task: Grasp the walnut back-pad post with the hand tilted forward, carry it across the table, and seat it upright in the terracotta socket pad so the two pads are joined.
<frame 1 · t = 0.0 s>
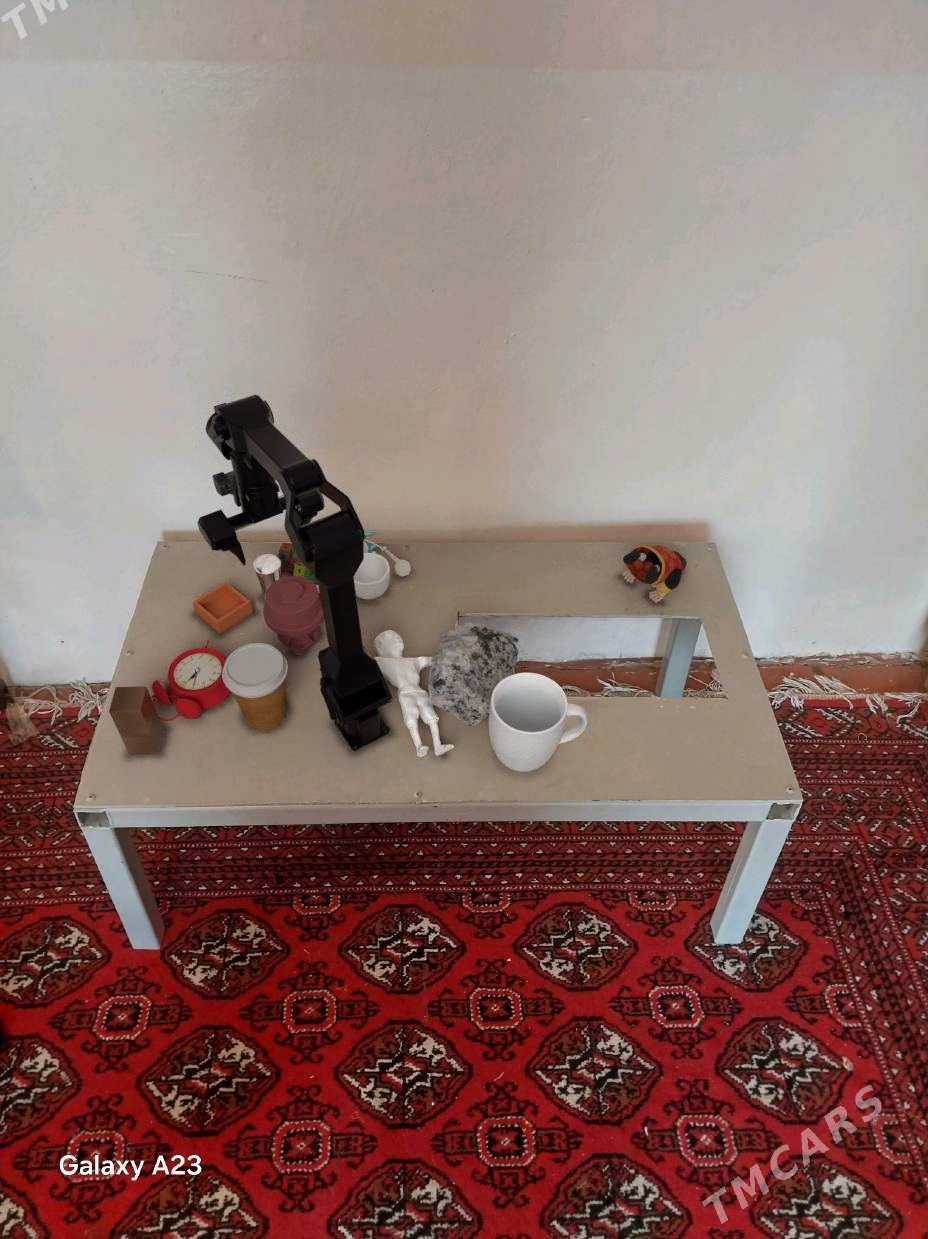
hand: (270, 553, 139), 15 cm above the table, tool pointing down, fingers open, 9 cm apart
mechanical component: (300, 641, 146), on the table
teacup: (370, 586, 155), on the table
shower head: (337, 518, 165), point 1 cm above the table, touching toy
socket pad: (224, 613, 150), on the table
figurine: (636, 571, 148), point 7 cm above the table
figurine 2: (442, 740, 127), point 5 cm above the table, touching rock
rock: (499, 656, 132), point 10 cm above the table, touching figurine 2, mug
rubik's cube: (303, 571, 157), on the table
stove knob: (311, 603, 152), on the table
back pad post: (147, 742, 132), on the table
mug: (528, 753, 132), on the table, touching rock
disposable coffee cup: (266, 714, 136), on the table
alarm clock: (195, 693, 138), on the table
toy: (374, 556, 159), point 1 cm above the table, touching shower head
milkshake: (273, 599, 153), on the table
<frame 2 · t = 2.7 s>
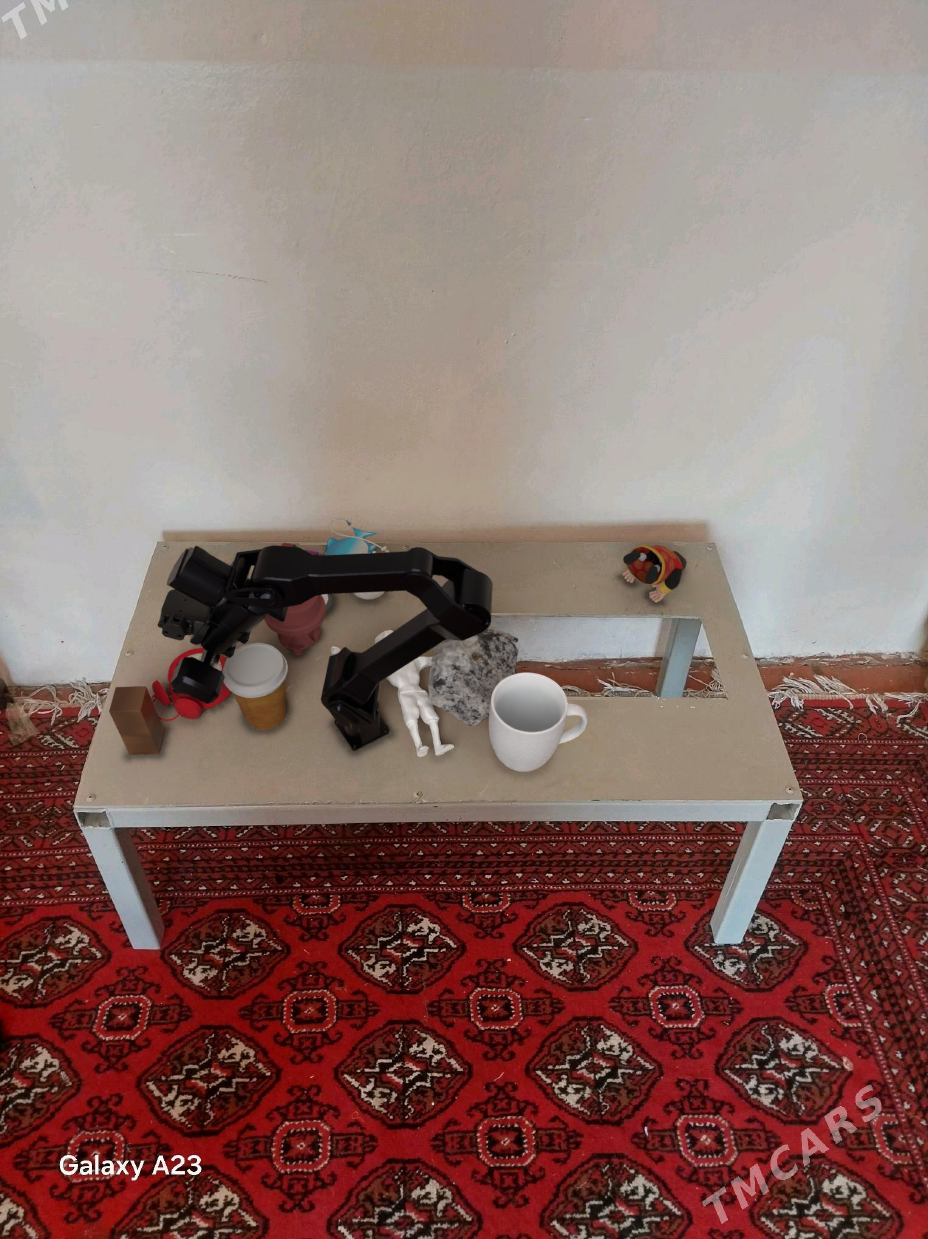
hand: (184, 667, 125), 13 cm above the table, tool tilted 40°, fingers open, 9 cm apart
nothing on the table moved.
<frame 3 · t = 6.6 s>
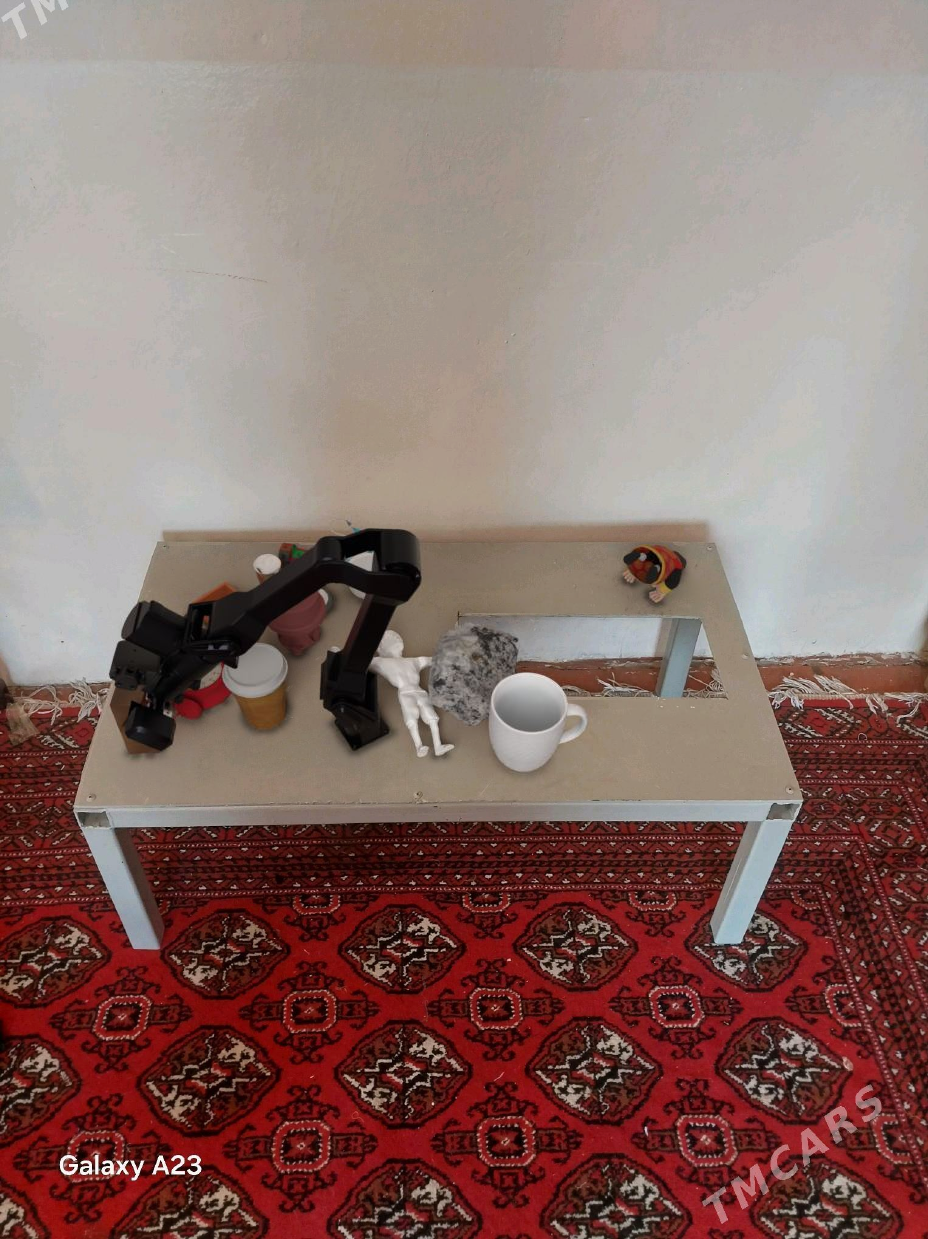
hand: (128, 713, 127), 7 cm above the table, tool tilted 45°, fingers closed on back pad post, 4 cm apart
back pad post: (146, 742, 132), on the table, touching gripper
everything else where it was.
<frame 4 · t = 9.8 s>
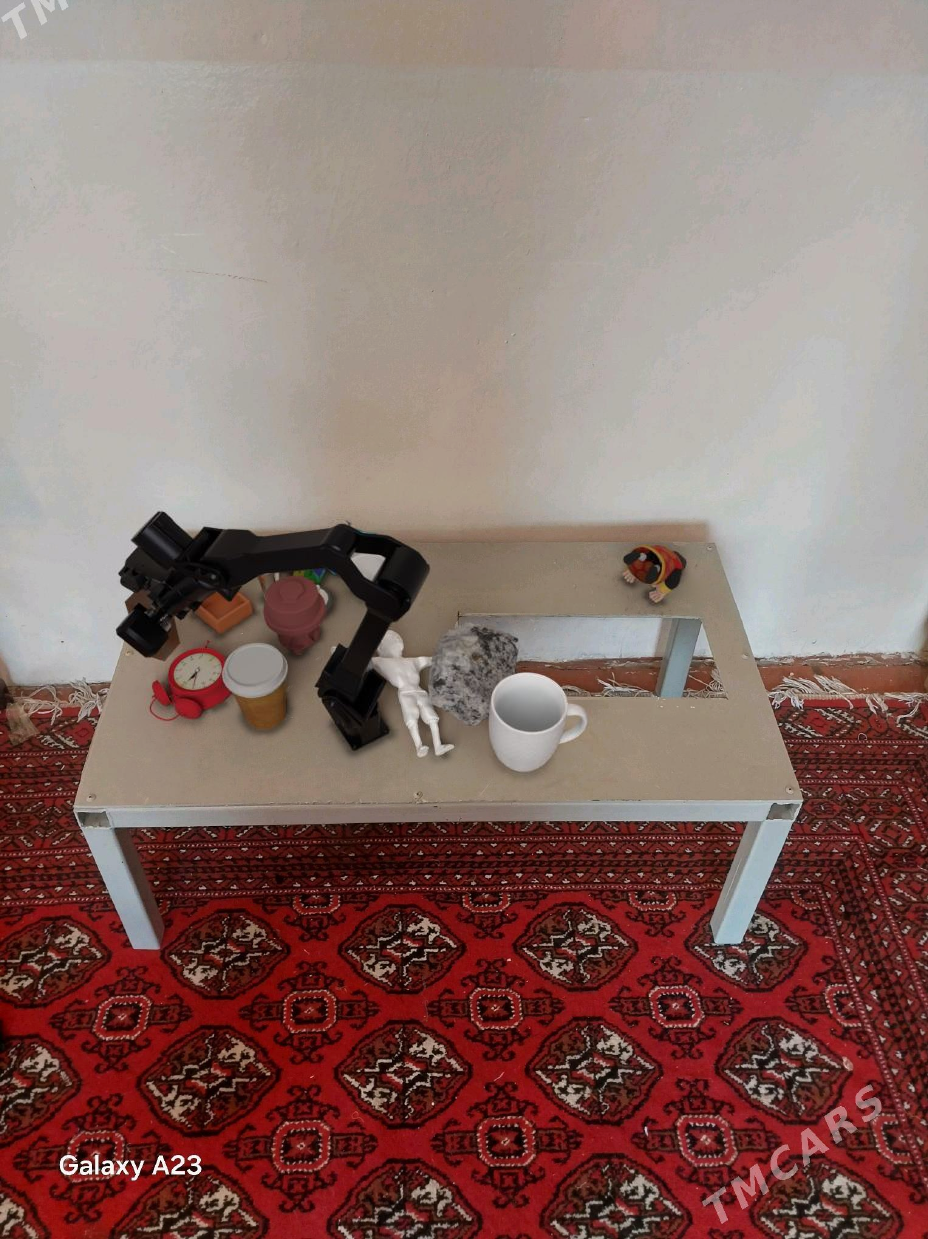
hand: (146, 616, 132), 13 cm above the table, tool tilted 45°, fingers closed on back pad post, 4 cm apart
back pad post: (160, 648, 136), point 6 cm above the table, touching gripper
everything else where it was.
when the fingers open (7 cm above the table, at t = 13.4 s): back pad post stays where it is, resting on socket pad.
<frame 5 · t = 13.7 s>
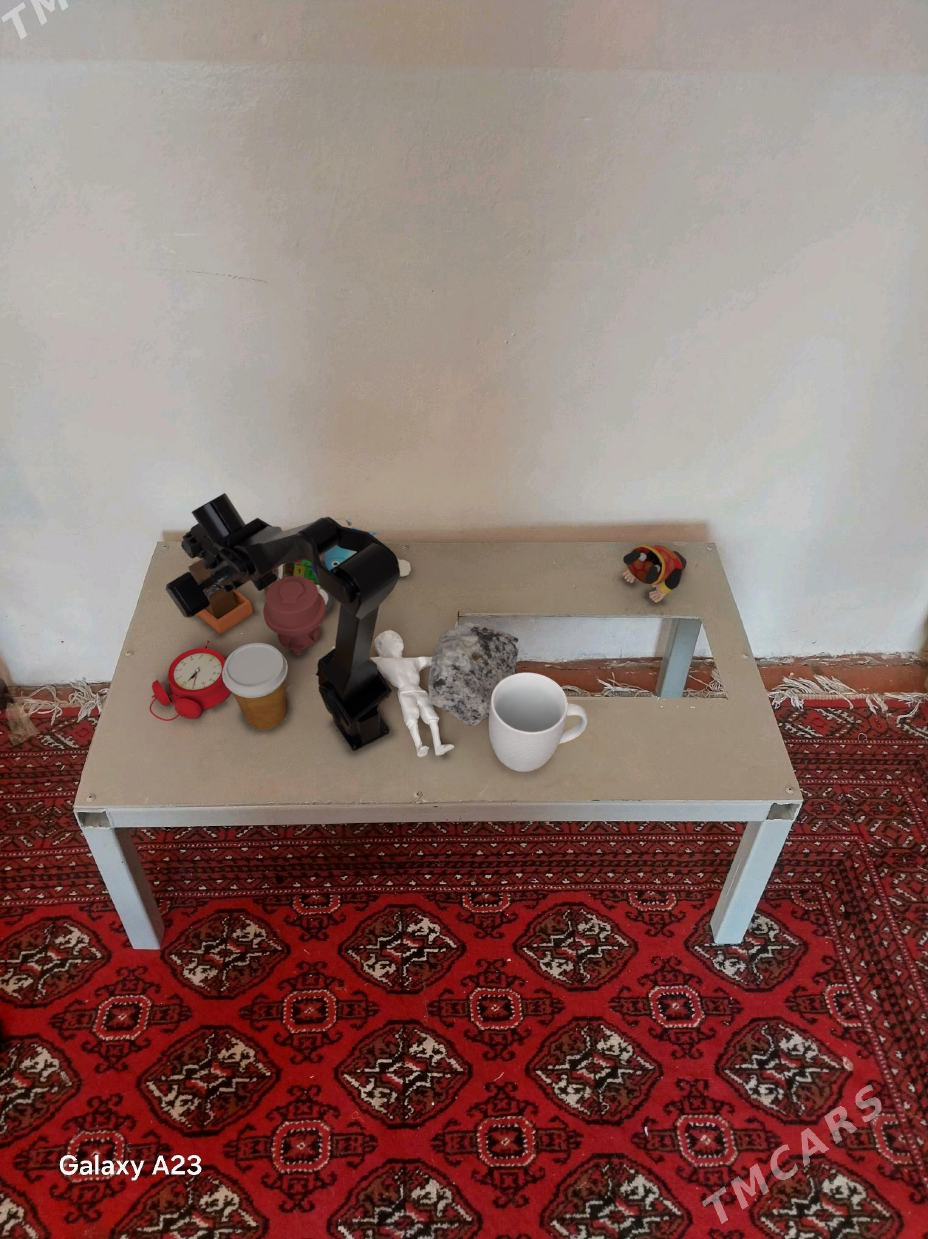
hand: (210, 579, 145), 7 cm above the table, tool tilted 45°, fingers open, 7 cm apart
back pad post: (220, 612, 149), point 1 cm above the table, touching socket pad
milkshake: (272, 598, 152), on the table, touching gripper
everything else where it was.
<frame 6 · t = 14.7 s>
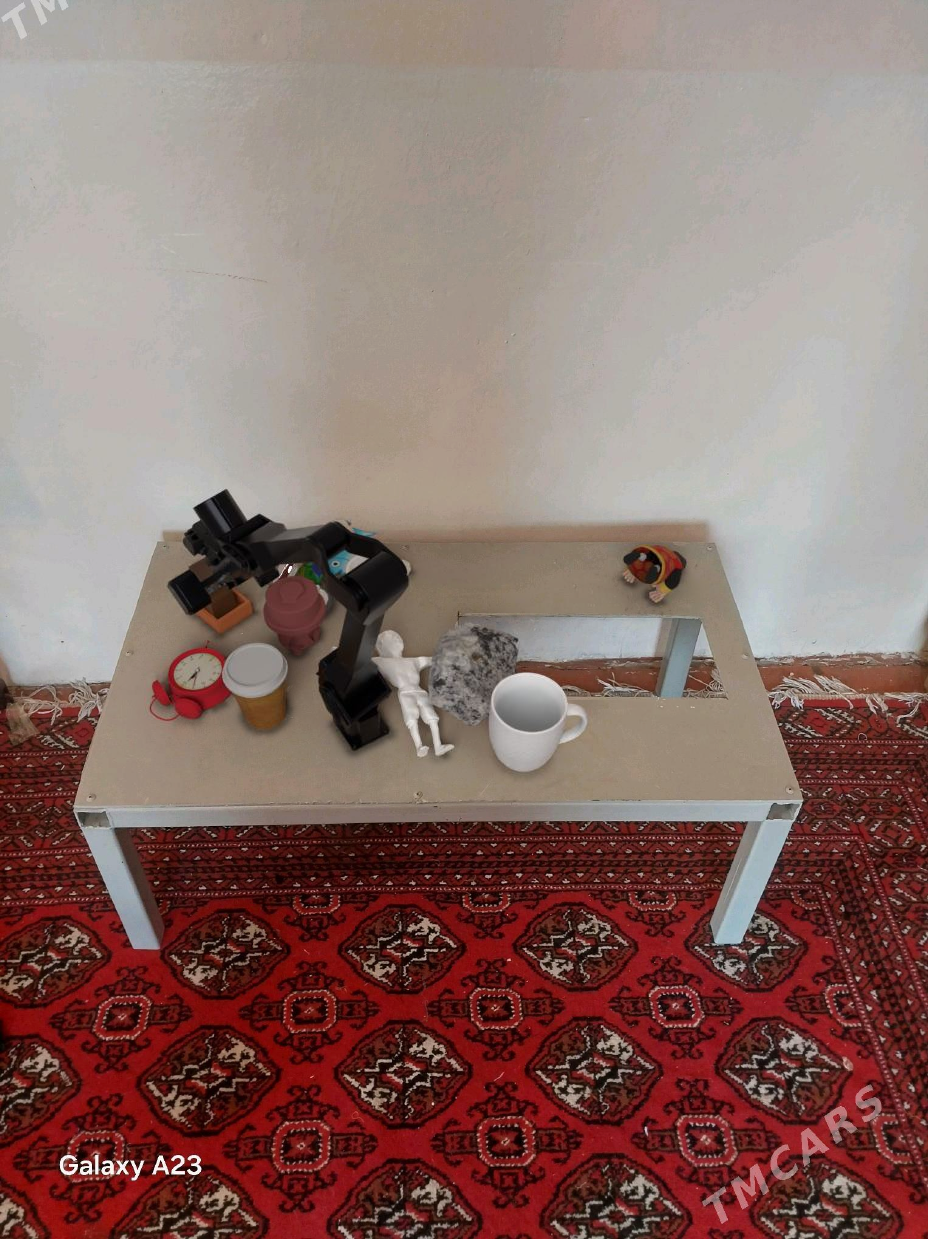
hand: (212, 577, 144), 8 cm above the table, tool tilted 45°, fingers open, 9 cm apart
rubik's cube: (303, 571, 157), on the table, touching milkshake
milkshake: (274, 590, 152), point 2 cm above the table, touching rubik's cube
everything else where it was.
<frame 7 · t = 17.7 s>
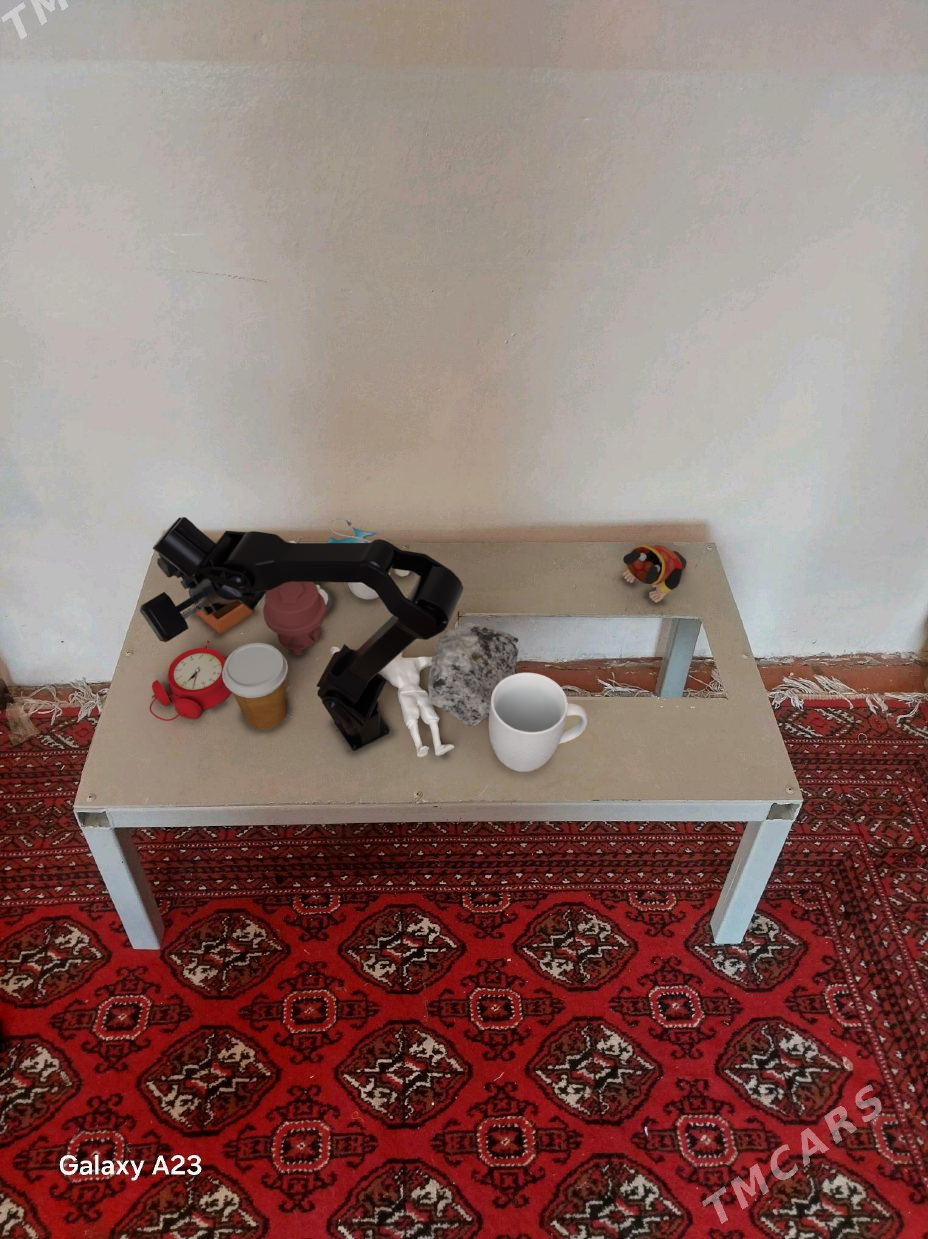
hand: (191, 598, 133), 14 cm above the table, tool tilted 45°, fingers open, 9 cm apart
nothing on the table moved.
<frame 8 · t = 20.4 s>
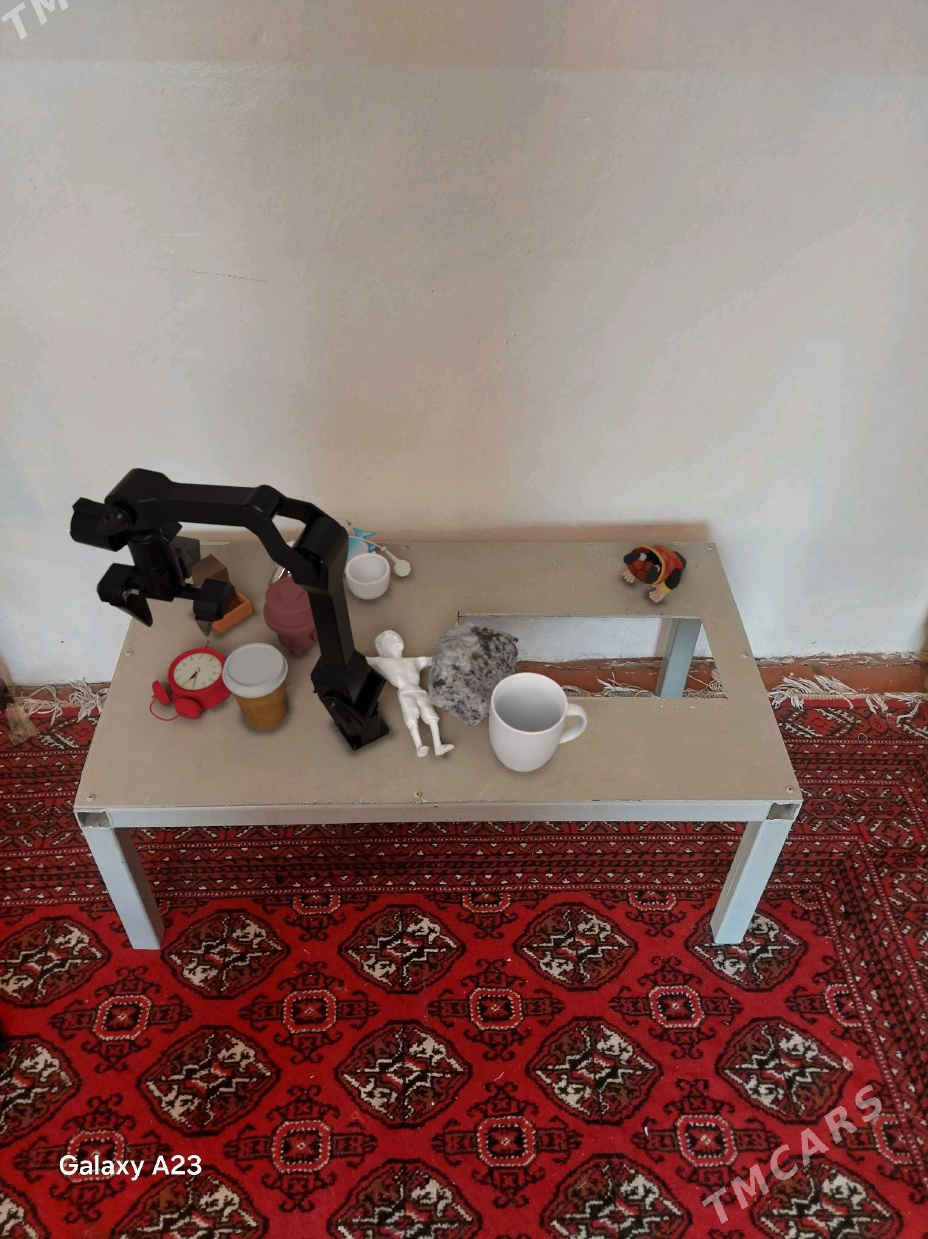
hand: (179, 629, 130), 13 cm above the table, tool pointing down, fingers open, 9 cm apart
rock: (499, 657, 132), point 10 cm above the table, touching figurine 2, mug
everything else where it was.
at the end: back pad post 0.7 cm off-centre on the socket pad, point 0.6 cm above the socket pad's base; back pad post tilted 0°; the gripper is holding nothing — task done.
